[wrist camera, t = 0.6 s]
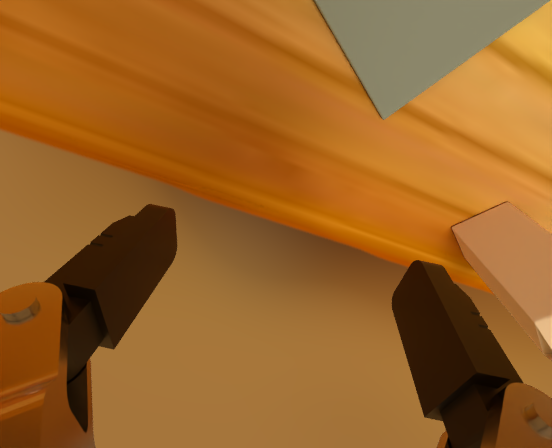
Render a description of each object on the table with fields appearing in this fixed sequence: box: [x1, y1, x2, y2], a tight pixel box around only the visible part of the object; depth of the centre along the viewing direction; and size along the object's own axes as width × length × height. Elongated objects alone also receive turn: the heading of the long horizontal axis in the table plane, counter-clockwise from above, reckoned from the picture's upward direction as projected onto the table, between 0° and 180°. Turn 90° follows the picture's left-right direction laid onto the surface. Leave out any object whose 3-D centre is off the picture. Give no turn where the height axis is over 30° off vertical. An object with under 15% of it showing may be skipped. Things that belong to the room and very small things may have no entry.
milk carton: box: [452, 202, 552, 360], centre depth 29 cm, size 7×7×19 cm
